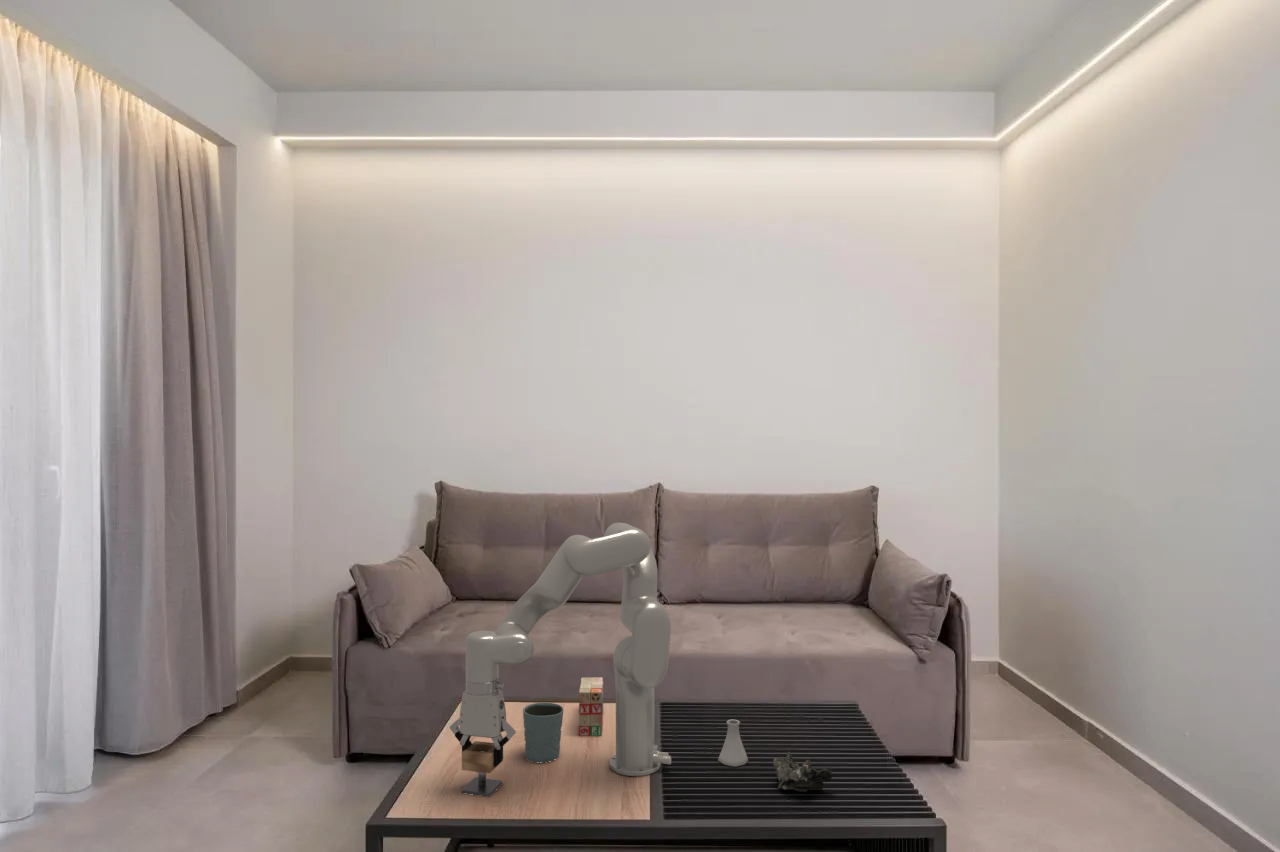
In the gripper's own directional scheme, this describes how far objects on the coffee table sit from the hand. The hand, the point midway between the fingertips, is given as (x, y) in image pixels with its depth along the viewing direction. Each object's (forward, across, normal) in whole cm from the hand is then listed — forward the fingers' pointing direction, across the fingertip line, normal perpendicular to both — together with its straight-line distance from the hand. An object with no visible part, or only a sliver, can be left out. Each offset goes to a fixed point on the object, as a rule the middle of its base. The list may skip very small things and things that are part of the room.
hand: (482, 762), depth 194 cm
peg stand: (+6, 0, 0) cm, 6 cm away
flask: (+7, -54, -30) cm, 62 cm away
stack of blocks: (+7, -12, -46) cm, 48 cm away
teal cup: (+6, -7, -21) cm, 23 cm away
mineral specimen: (+7, -71, -20) cm, 74 cm away
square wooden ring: (+1, 0, 0) cm, 1 cm away
